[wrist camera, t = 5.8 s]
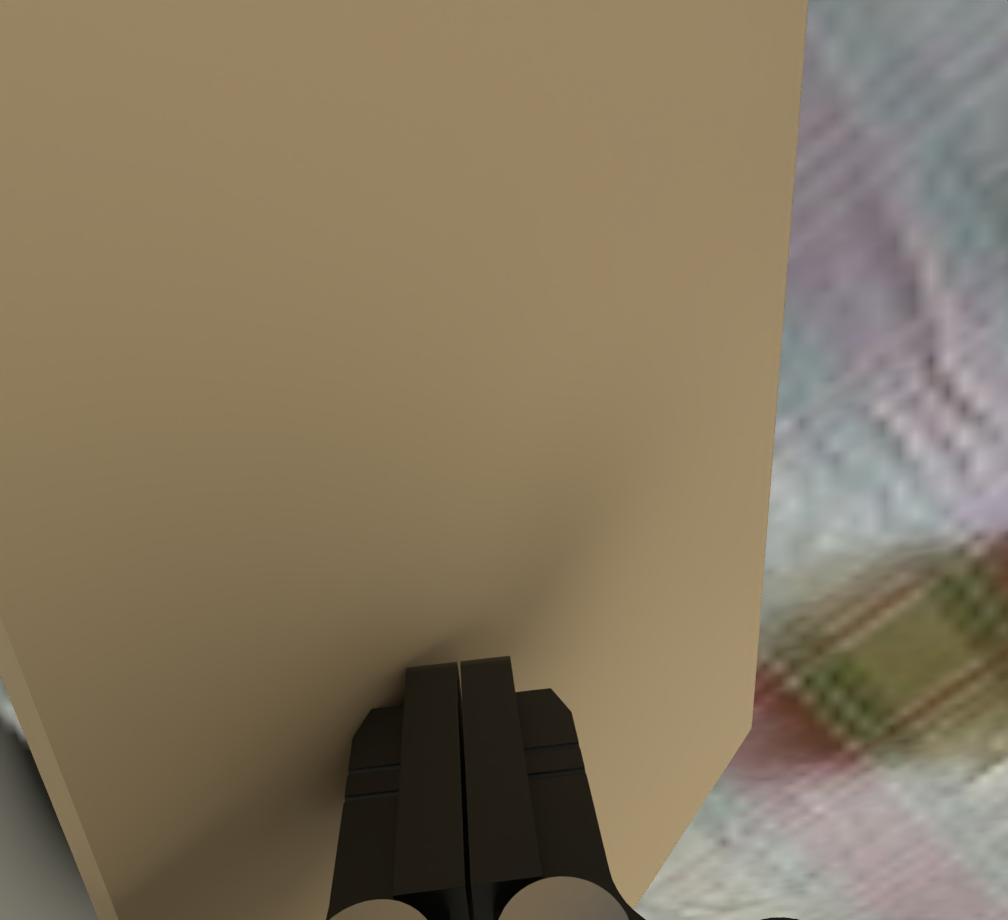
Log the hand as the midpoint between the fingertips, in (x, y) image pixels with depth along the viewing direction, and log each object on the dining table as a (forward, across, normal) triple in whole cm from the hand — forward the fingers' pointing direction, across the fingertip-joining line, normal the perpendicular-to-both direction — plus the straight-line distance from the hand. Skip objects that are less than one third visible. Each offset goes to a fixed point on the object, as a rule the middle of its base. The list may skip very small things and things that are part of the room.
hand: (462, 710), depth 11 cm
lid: (+4, -2, 0) cm, 5 cm away
